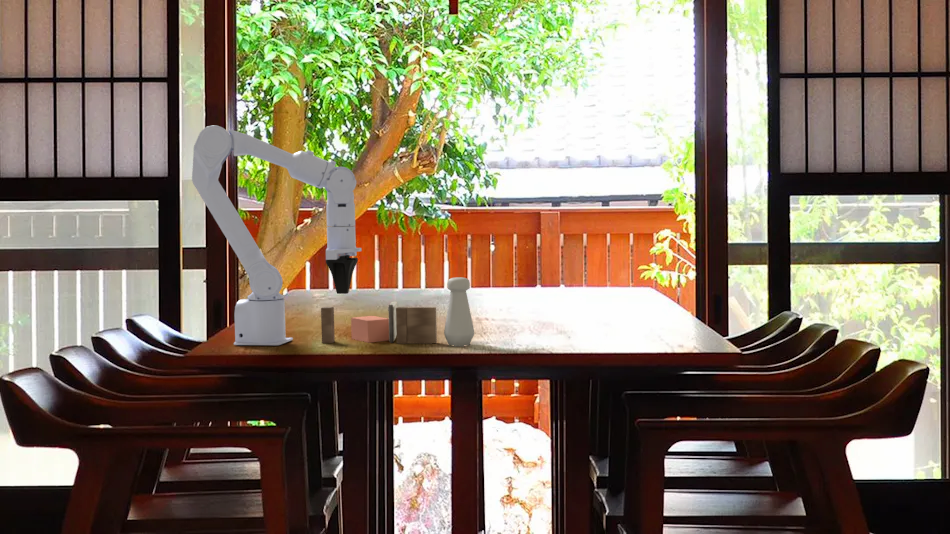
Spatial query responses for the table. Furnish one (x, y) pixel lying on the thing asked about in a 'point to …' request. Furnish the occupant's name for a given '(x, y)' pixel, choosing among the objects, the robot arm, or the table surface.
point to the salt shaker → (458, 314)
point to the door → (394, 318)
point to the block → (370, 328)
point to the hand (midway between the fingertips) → (342, 293)
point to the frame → (409, 325)
